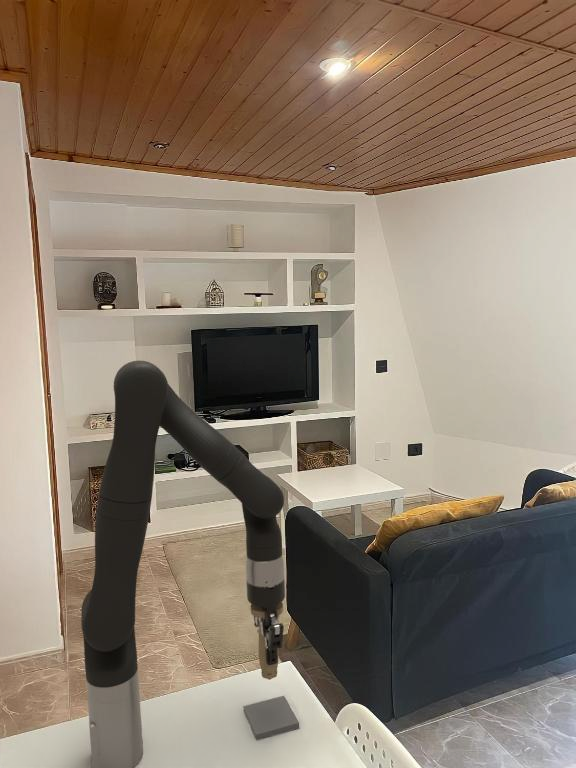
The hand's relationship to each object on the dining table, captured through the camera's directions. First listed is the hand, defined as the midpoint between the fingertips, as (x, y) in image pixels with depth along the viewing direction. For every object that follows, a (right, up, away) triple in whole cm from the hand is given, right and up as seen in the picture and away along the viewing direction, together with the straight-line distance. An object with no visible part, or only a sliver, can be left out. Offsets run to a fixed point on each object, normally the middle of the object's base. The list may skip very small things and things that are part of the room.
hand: (268, 657), depth 119 cm
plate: (0, -14, +2) cm, 14 cm away
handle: (0, -4, +1) cm, 4 cm away
